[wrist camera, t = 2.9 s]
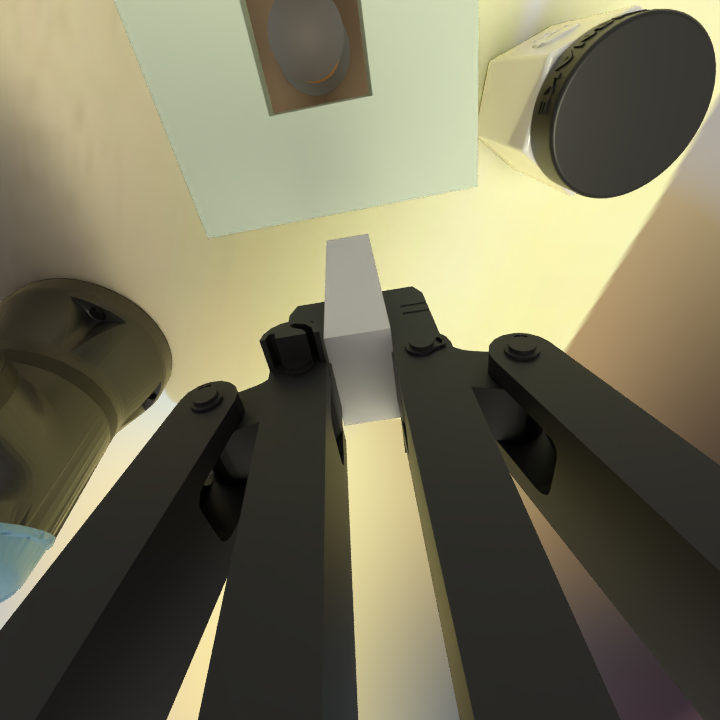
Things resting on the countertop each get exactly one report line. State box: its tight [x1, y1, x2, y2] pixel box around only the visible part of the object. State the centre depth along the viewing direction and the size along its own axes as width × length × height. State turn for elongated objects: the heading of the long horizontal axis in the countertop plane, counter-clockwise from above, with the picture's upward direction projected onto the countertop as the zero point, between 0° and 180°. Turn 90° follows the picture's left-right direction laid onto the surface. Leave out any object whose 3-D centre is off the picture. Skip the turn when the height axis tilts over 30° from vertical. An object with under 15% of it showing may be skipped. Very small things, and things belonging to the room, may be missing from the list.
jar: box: [478, 5, 716, 198], centre depth 25 cm, size 9×8×12 cm
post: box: [245, 0, 369, 114], centre depth 21 cm, size 16×16×14 cm
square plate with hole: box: [114, 0, 479, 239], centre depth 18 cm, size 15×15×2 cm
